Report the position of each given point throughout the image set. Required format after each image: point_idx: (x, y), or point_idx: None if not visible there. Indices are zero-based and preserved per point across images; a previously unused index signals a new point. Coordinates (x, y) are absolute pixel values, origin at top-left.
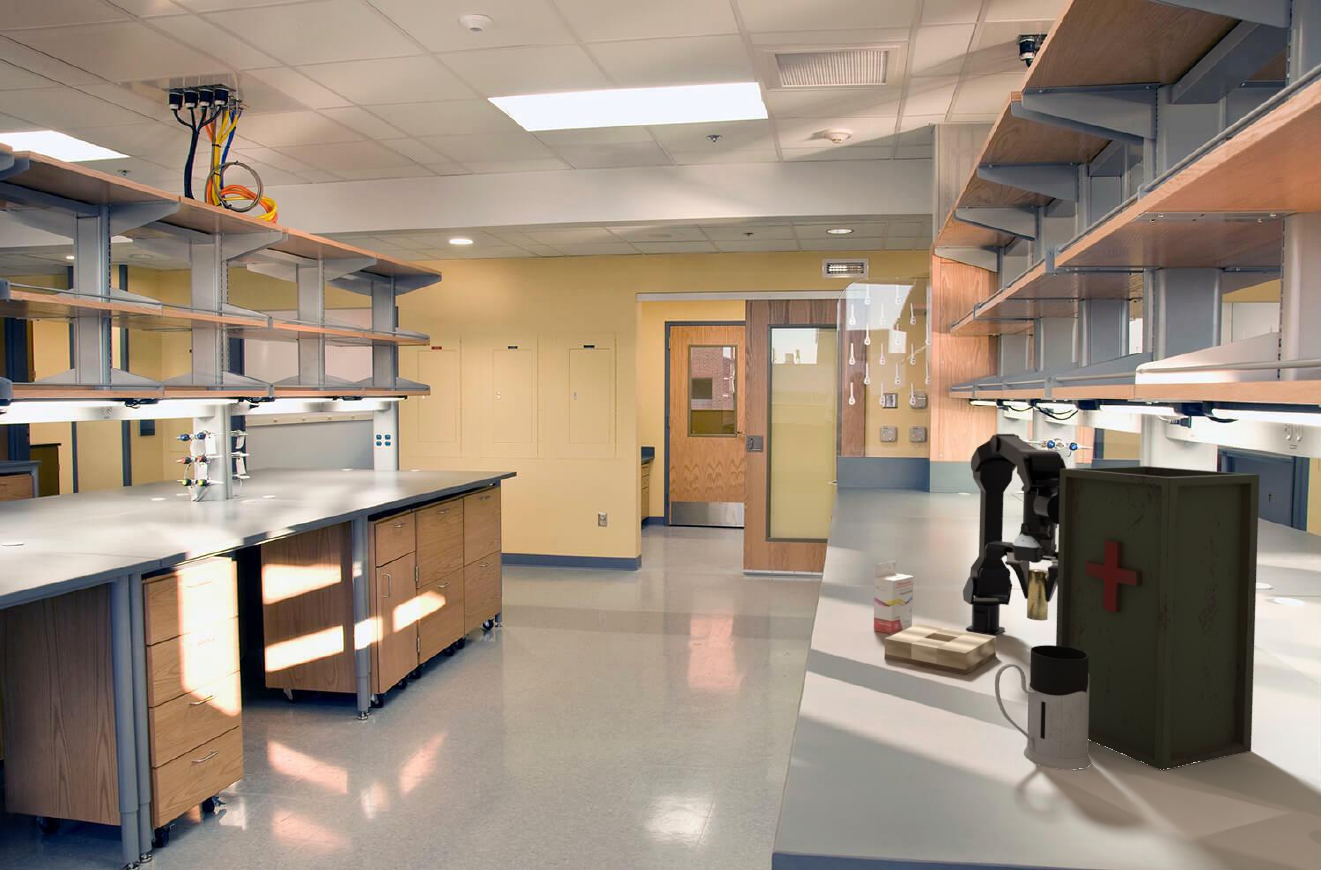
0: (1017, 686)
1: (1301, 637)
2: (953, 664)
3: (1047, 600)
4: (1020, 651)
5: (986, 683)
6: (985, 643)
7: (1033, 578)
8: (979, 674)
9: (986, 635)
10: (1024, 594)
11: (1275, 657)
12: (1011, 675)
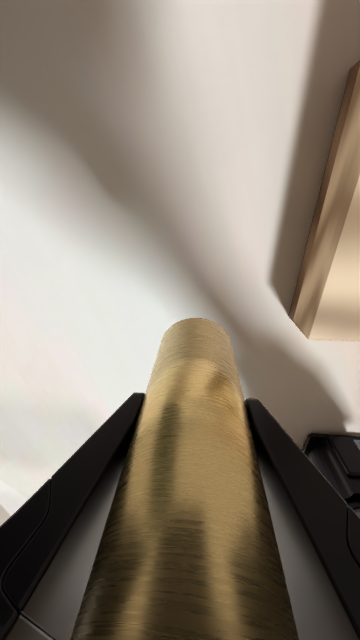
0: (185, 66)
1: None
2: None
3: (138, 395)
4: (250, 374)
5: (272, 12)
6: (331, 259)
7: (207, 552)
8: (306, 119)
9: (334, 333)
10: (265, 414)
11: (7, 484)
12: (226, 181)
